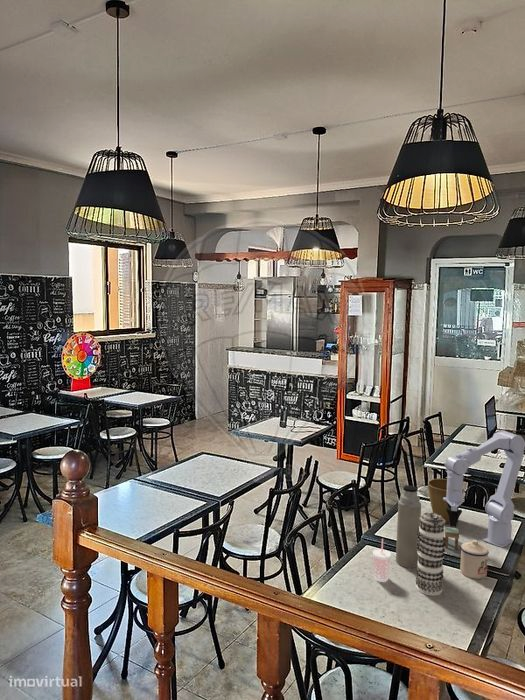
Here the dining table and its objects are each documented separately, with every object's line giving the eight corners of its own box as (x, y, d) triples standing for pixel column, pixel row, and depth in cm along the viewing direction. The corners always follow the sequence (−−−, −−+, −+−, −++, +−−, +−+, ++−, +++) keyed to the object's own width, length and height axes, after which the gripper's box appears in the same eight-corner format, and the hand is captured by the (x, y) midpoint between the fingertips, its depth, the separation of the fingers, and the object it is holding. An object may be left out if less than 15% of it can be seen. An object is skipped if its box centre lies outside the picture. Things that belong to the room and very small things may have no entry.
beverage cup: (379, 584, 178) (381, 544, 177) (368, 576, 183) (369, 537, 182) (393, 580, 181) (395, 540, 180) (382, 572, 186) (383, 533, 185)
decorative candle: (411, 580, 181) (414, 509, 179) (438, 581, 181) (442, 510, 178) (418, 595, 172) (421, 520, 170) (447, 596, 172) (451, 521, 169)
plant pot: (419, 519, 234) (421, 483, 232) (437, 510, 244) (438, 476, 242) (451, 530, 223) (453, 492, 221) (468, 520, 233) (470, 485, 231)
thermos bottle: (398, 555, 199) (401, 482, 197) (420, 559, 196) (423, 485, 194) (393, 564, 192) (397, 488, 190) (416, 569, 189) (420, 492, 186)
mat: (445, 537, 215) (445, 536, 215) (474, 548, 206) (474, 547, 206) (429, 546, 207) (429, 545, 207) (458, 557, 198) (458, 556, 198)
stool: (444, 542, 210) (445, 526, 209) (458, 544, 208) (458, 528, 208) (444, 548, 205) (445, 531, 205) (458, 550, 204) (459, 533, 203)
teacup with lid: (482, 582, 181) (484, 549, 180) (455, 573, 187) (457, 541, 186) (493, 569, 190) (495, 537, 189) (467, 561, 196) (469, 530, 195)
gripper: (443, 481, 213) (442, 514, 214) (443, 493, 199) (442, 528, 200) (462, 483, 211) (461, 516, 212) (463, 495, 197) (462, 531, 198)
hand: (453, 522), depth 206 cm, fingers open, 7 cm apart
